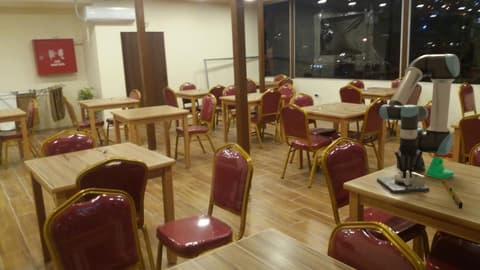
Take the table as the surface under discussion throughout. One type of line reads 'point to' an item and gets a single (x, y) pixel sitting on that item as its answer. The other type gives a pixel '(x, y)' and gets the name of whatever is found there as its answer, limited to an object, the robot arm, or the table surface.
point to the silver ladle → (412, 179)
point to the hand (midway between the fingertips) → (406, 184)
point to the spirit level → (452, 193)
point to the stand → (400, 186)
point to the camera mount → (438, 169)
